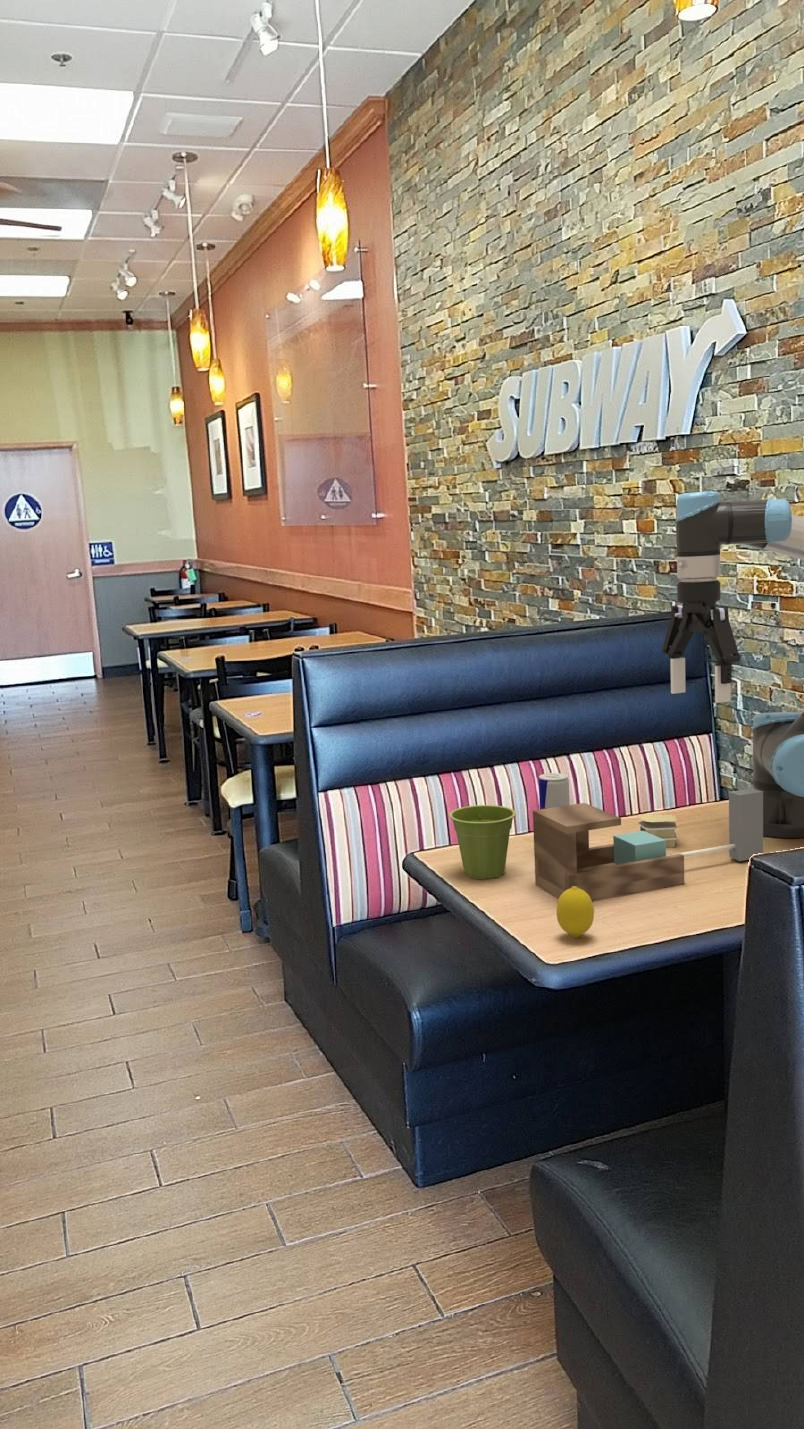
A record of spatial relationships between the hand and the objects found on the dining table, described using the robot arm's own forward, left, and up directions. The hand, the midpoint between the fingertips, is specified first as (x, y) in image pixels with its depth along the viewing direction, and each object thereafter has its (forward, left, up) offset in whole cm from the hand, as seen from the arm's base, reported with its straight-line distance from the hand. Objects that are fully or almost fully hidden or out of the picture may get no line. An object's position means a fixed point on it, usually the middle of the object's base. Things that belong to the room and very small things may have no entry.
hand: (699, 697), depth 200 cm
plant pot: (+41, -7, -29) cm, 51 cm away
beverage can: (+24, -12, -29) cm, 39 cm away
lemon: (+42, +28, -29) cm, 58 cm away
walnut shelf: (+25, +9, -29) cm, 39 cm away
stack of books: (+5, -7, -29) cm, 31 cm away
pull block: (+8, +9, -28) cm, 31 cm away
